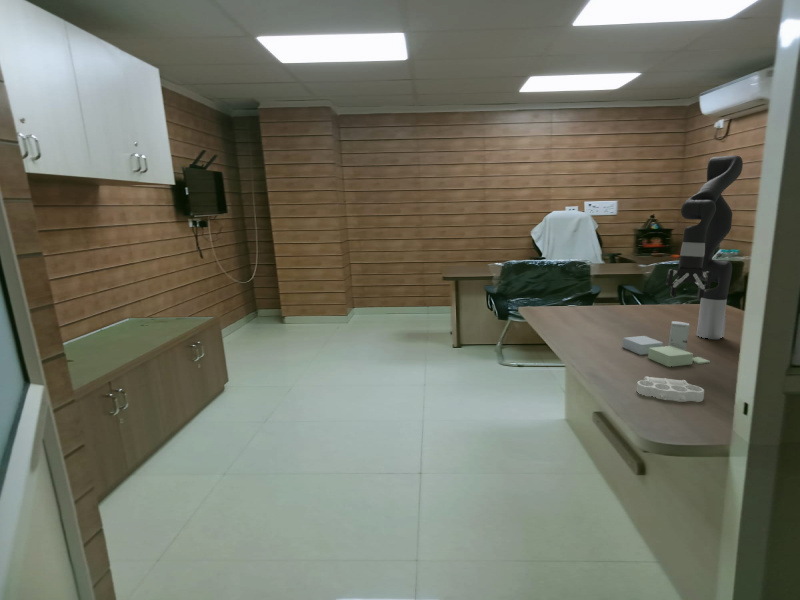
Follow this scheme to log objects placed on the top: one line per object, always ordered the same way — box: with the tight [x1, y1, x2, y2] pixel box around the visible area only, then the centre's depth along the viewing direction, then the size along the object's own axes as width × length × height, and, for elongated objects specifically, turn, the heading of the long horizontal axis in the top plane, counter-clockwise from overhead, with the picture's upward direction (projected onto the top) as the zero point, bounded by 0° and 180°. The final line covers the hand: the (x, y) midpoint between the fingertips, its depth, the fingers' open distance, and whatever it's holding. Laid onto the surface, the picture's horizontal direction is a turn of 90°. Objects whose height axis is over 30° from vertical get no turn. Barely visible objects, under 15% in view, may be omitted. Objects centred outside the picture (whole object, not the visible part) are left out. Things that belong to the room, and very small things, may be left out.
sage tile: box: [692, 356, 711, 365], centre depth 170 cm, size 5×5×1 cm
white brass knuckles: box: [636, 375, 705, 403], centre depth 143 cm, size 3×18×15 cm
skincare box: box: [668, 320, 691, 351], centre depth 179 cm, size 6×4×12 cm
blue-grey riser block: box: [622, 335, 664, 356], centre depth 184 cm, size 10×10×4 cm
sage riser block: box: [647, 345, 694, 368], centre depth 171 cm, size 10×10×4 cm
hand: (686, 298), depth 173 cm, fingers open, 8 cm apart
